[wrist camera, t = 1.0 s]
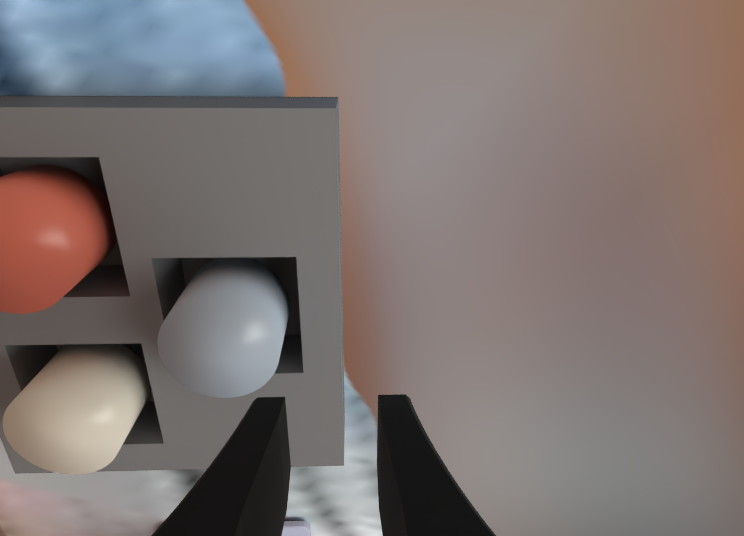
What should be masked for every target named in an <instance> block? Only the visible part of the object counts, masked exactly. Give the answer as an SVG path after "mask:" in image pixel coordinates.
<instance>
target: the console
mask: <svg viewBox="0 0 744 536" xmlns="http://www.w3.org/2000/svg"><path fill="white" fill-rule="evenodd" d="M35 164H52V165H57V166H61V167H65V168H68V169H70V170H73V171H75V172H77V173H79V174H80V175H82V176H84V177H85V178H87V179H88V180H90V181H91V182H92V183H93V184H94V185H95V186H96V187H97V188H98V189H99V190H100V191H101V192H102V193H103V194H104V196H105V197H106V198H107V200H108V202H109V204H110V208H111V213H112V217H113V222H114V226H115V230H116V235H117V236H116V241H115V244H114V246H113V248H112V250H111V252H110V253H109V255H108V256H107V257H106V258H105V259H104V260H103V261H102V262H101V263H99V264H98V265H97V266H96V267H95V268H94V269H93V270H92V271H91V272H90V273H88V274H87V275H86V276H85V277H84V278H83V279H82V280H81V281H80V282H79V283H78V284H76V285H75V286H74V287H73V288H72V289H71V290H70V291H69V292H68V293H67V294H65V295H64V296H63V297H62V298H61V299H60V300H59V301H58V302H57V303H55V304H54V305H52V306H51V307H49V308H47V309H44V310H41V311H38V312H34V313H26V314H13V313H6V312H1V311H0V438H1V440H2V442H3V445H4V447H5V450H6V452H7V455H8V457H9V460H10V462H11V464H12V467H13V469H14V472H15V473H55V472H51V471H48V470H45V469H42V468H40V467H38V466H36V465H34V464H32V463H30V462H29V461H27V460H25V459H24V458H23V457H21V456H20V455H19V454H18V453H17V452H16V451H15V450H14V449H13V448H12V447H11V445H10V444H9V442H8V441H7V439H6V437H5V434H4V431H3V425H2V424H3V416H4V413H5V411H6V409H7V407H8V406H9V404H10V403H11V402H12V401H13V400H14V399H15V398H16V397H17V396H18V395H19V394H20V392H21V391H22V390H23V389H24V388H25V387H26V386H27V385H28V384H29V383H30V382H31V381H32V379H33V378H34V377H35V376H36V375H37V374H38V373H39V372H40V371H41V370H42V369H43V367H44V366H45V365H46V364H47V363H48V362H49V361H50V360H51V359H52V358H53V357H54V356H55V354H56V353H57V352H58V351H59V350H60V349H61V348H62V347H64V346H65V345H67V344H121V345H123V346H125V347H127V348H129V349H130V350H132V351H133V352H134V353H136V354H137V355H138V356H139V357H140V358H141V359H142V360H143V362H144V363H145V365H146V367H147V371H148V376H149V380H150V385H151V393H150V396H149V398H148V400H147V401H146V403H145V405H144V407H143V409H142V410H141V412H140V414H139V416H138V418H137V419H136V421H135V423H134V425H133V427H132V428H131V430H130V432H129V434H128V436H127V437H126V439H125V441H124V443H123V445H122V446H121V448H120V450H119V452H118V454H117V455H116V457H115V458H114V460H113V461H112V462H111V463H110V464H108V465H107V466H106V467H104V468H102V469H100V470H98V471H137V470H178V469H208V467H209V466H210V465H211V463H212V462H213V460H214V459H215V458H216V456H217V455H218V454H219V452H220V451H221V449H222V448H223V447H224V445H225V444H226V443H227V441H228V440H229V438H230V437H231V435H232V434H233V432H234V431H235V429H236V428H237V426H238V425H239V423H240V422H241V420H242V418H243V417H244V415H245V414H246V412H247V410H248V409H249V407H250V405H251V404H252V402H253V401H254V400H255V399H256V398H257V397H285V402H286V414H287V426H288V438H289V450H290V461H291V467H301V466H342V465H344V419H345V416H344V366H343V315H342V265H341V217H340V216H341V215H340V164H339V113H338V97H176V96H0V177H2V176H4V175H7V174H9V173H11V172H14V171H16V170H19V169H21V168H24V167H27V166H30V165H35ZM230 257H243V258H248V259H252V260H255V261H257V262H260V263H262V264H263V265H265V266H267V267H268V268H270V269H271V270H272V271H274V272H275V273H276V274H277V275H278V276H279V278H280V279H281V280H282V282H283V283H284V285H285V287H286V289H287V291H288V294H289V298H290V313H289V318H288V322H287V327H286V331H285V336H284V340H283V345H282V349H281V354H280V359H279V363H278V366H277V369H276V371H275V373H274V374H273V376H272V377H271V379H270V380H269V381H268V382H267V383H266V384H265V385H263V386H262V387H261V388H259V389H258V390H256V391H254V392H252V393H249V394H247V395H243V396H239V397H233V398H217V397H210V396H206V395H202V394H199V393H197V392H194V391H192V390H190V389H188V388H186V387H185V386H183V385H182V384H180V383H179V382H178V381H177V380H175V379H174V378H173V377H172V376H171V375H170V373H169V372H168V371H167V370H166V368H165V366H164V365H163V363H162V361H161V359H160V355H159V352H158V345H157V344H158V334H159V330H160V328H161V325H162V324H163V322H164V320H165V319H166V317H167V315H168V314H169V312H170V311H171V309H172V308H173V306H174V305H175V303H176V302H177V300H178V299H179V297H180V295H181V294H182V292H183V291H184V289H185V288H186V286H187V285H188V283H189V282H190V280H191V279H192V277H193V276H194V274H195V273H196V272H197V271H198V270H199V269H200V268H201V267H202V266H204V265H205V264H207V263H209V262H211V261H213V260H216V259H219V258H230ZM95 472H96V471H95Z"/></svg>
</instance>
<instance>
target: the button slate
mask: <svg viewBox="0 0 744 536" xmlns="http://www.w3.org/2000/svg"><path fill="white" fill-rule="evenodd" d="M289 313H290V298H289V294H288V291H287V289H286V287H285V285H284V283H283V282H282V280H281V279H280V278H279V276H278V275H277V274H276V273H275V272H274V271H272V270H271V269H270V268H268V267H267V266H265V265H263V264H262V263H260V262H257V261H255V260H252V259H248V258H243V257H230V258H219V259H216V260H213V261H211V262H209V263H207V264H205V265H204V266H202V267H201V268H200V269H199V270H198V271H197V272H196V273H195V274H194V276H193V277H192V279H191V280H190V282H189V283H188V285H187V286H186V288H185V289H184V291H183V292H182V294H181V295H180V297H179V299H178V300H177V302H176V303H175V305H174V306H173V308H172V309H171V311H170V312H169V314H168V315H167V317H166V319H165V320H164V322H163V324H162V325H161V328H160V330H159V334H158V344H157V345H158V352H159V355H160V359H161V361H162V363H163V365H164V366H165V368H166V370H167V371H168V372H169V373H170V375H171V376H172V377H173V378H174V379H175V380H177V381H178V382H179V383H180V384H182V385H183V386H185V387H186V388H188V389H190V390H192V391H194V392H197V393H199V394H202V395H206V396H210V397H217V398H233V397H239V396H243V395H247V394H249V393H252V392H254V391H256V390H258V389H259V388H261V387H262V386H263V385H265V384H266V383H267V382H268V381H269V380H270V379H271V377H272V376H273V374H274V373H275V371H276V369H277V366H278V363H279V359H280V354H281V349H282V345H283V340H284V336H285V331H286V327H287V322H288V318H289Z"/></svg>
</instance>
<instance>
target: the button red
mask: <svg viewBox="0 0 744 536" xmlns="http://www.w3.org/2000/svg"><path fill="white" fill-rule="evenodd" d="M116 236H117V235H116V230H115V226H114V222H113V217H112V213H111V208H110V204H109V202H108V200H107V198H106V197H105V196H104V194H103V193H102V192H101V191H100V190H99V189H98V188H97V187H96V186H95V185H94V184H93V183H92V182H91V181H90V180H88V179H87V178H85V177H84V176H82V175H80V174H79V173H77V172H75V171H73V170H70V169H68V168H65V167H61V166H57V165H52V164H35V165H30V166H27V167H24V168H21V169H19V170H16V171H14V172H11V173H9V174H7V175H4V176H2V177H0V311H1V312H6V313H13V314H26V313H34V312H38V311H41V310H44V309H47V308H49V307H51V306H52V305H54V304H55V303H57V302H58V301H59V300H60V299H61V298H62V297H63V296H64V295H65V294H67V293H68V292H69V291H70V290H71V289H72V288H73V287H74V286H75V285H76V284H78V283H79V282H80V281H81V280H82V279H83V278H84V277H85V276H86V275H87V274H88V273H90V272H91V271H92V270H93V269H94V268H95V267H96V266H97V265H98V264H99V263H101V262H102V261H103V260H104V259H105V258H106V257H107V256H108V255H109V253H110V252H111V250H112V248H113V246H114V244H115V241H116Z"/></svg>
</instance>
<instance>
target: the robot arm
mask: <svg viewBox="0 0 744 536" xmlns="http://www.w3.org/2000/svg"><path fill="white" fill-rule="evenodd" d="M290 468H291V461H290V450H289V438H288V426H287V414H286V402H285V397H257V398H256V399H255V400H254V401H253V402H252V404H251V405H250V407H249V409H248V410H247V412H246V414H245V415H244V417H243V418H242V420H241V422H240V423H239V425H238V426H237V428H236V429H235V431H234V432H233V434H232V435H231V437H230V438H229V440H228V441H227V443H226V444H225V445H224V447H223V448H222V449H221V451H220V452H219V454H218V455H217V456H216V458H215V459H214V460H213V462H212V463H211V465H210V466H209V467H208V469H207V470H206V471H205V473H204V474H203V475H202V477H201V478H200V479H199V480H198V482H197V483H196V484H195V485H194V486H193V488H192V489H191V490H190V491H189V493H188V494H187V495H186V496H185V498H184V499H183V500H182V501H181V502H180V504H179V505H178V506H177V507H176V509H175V510H174V511H173V512H172V513H171V514H170V515H169V517H168V518H167V519H166V520H165V521H164V522H163V523H162V525H161V526H160V527H159V528H158V529H157V530H156V531H155V532H154V533H153V534H152V536H311V531H310V525H309V524H308V523H307V522H305V521H285V516H286V511H287V501H288V491H289V479H290ZM377 473H378V495H379V511H380V518H381V525H382V532H383V536H496V535H495V534H494V533H493V531H492V530H491V529H490V528H489V527H488V525H487V524H486V523H485V521H484V520H483V519H482V518H481V516H480V515H479V514H478V512H477V511H476V510H475V508H474V507H473V506H472V504H471V503H470V501H469V500H468V499H467V497H466V496H465V494H464V493H463V491H462V490H461V489H460V487H459V486H458V484H457V483H456V481H455V480H454V478H453V477H452V475H451V474H450V472H449V471H448V469H447V467H446V466H445V464H444V463H443V461H442V459H441V458H440V456H439V455H438V453H437V451H436V450H435V448H434V446H433V444H432V443H431V441H430V439H429V438H428V436H427V434H426V432H425V430H424V428H423V426H422V424H421V422H420V420H419V419H418V416H417V414H416V412H415V410H414V407H413V405H412V402H411V400H410V398H409V397H408V396H406V395H378V438H377Z"/></svg>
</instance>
